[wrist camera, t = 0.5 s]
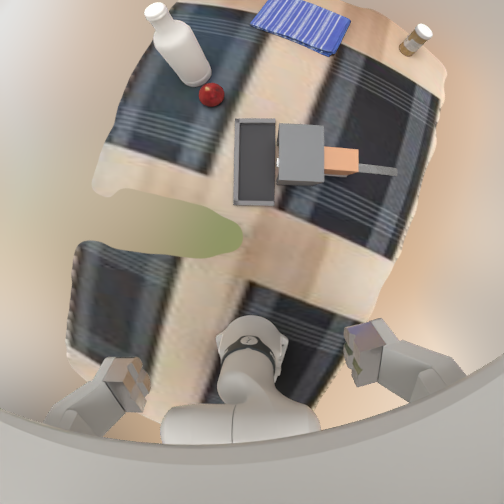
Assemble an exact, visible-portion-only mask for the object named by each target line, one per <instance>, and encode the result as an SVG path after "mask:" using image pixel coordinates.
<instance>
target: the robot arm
mask: <svg viewBox="0 0 504 504" xmlns="http://www.w3.org/2000/svg"><path fill="white" fill-rule="evenodd" d="M344 338H345V340H346V343H345V344H344V357H345V361H346V364H347V366H348V368H350V369H352V377H353V380H354V382H355V384H356V386H357V387H360V386H364V385H367V384H371V383H375V382H378V383H379V384H381V385H382V386H384V387H385V388H387V389H388V390H390V391H392V392H393V393H395V394H396V395H398V396H400V397H401V398H403V399H404V400H406V401H407V402H409V403H408V404H406V405H404V406H401V407H398V408H395V409H393V410H390V411H387V412H384V413H382V414H378V415H376V416H372V417H370V418H366V419H363V420H359V421H356V422H352V423H349V424H345V425H341V426H338V427H333V428H329V429H325V430H321V427H320V422H319V420H318V418H317V416H316V414H315V413H314V412H313V410H312V409H311V408H309V407H308V406H307V405H305V404H302V403H298V402H295V401H293V400H291V399H289V398H287V397H285V396H284V395H282V394H281V393H280V392H279V391H278V390H277V389H276V388H275V384H274V383H275V382H276V379H277V376H280V372H281V368H280V367H281V364H282V361H283V358H284V355H285V352H286V349H287V345H288V338H287V337H286V336H284V335H283V334H281V333H280V332H279V331H278V330H277V328H276V327H275V326H274V325H273V324H272V323H271V322H270V321H269V320H267V319H265V318H263V317H260V316H255V315H247V316H242V317H239V318H237V319H235V320H234V321H233V322H231V323H230V324H229V326H228V327H227V328H226V329H225V330H224V331H223V332H221V333H219V334H217V336H216V343H217V347H218V353H219V354H220V358H221V372H220V375H219V379H218V383H217V390H218V394H219V396H220V398H221V399H222V400H223V402H224V403H225V404H191V405H183V406H177V407H173V408H171V409H170V410H169V411H168V412H167V413H166V415H165V416H164V418H163V420H162V423H161V427H160V435H161V440H162V443H163V444H159V443H145V442H134V441H125V440H118V439H111V438H105V437H102V436H103V435H104V434H105V433H106V432H107V431H108V430H109V429H110V428H111V427H112V426H113V425H114V424H115V423H116V422H117V421H118V420H119V419H120V418H121V417H122V416H123V415H124V414H125V412H143V410H144V407H145V404H146V399H145V396H146V395H147V394H149V392H150V389H151V381H150V378H149V375H148V373H147V372H146V371H145V370H143V369H142V365H143V364H142V362H141V360H140V358H138V357H107V358H105V360H104V361H103V363H102V365H101V366H100V368H99V370H98V372H97V373H96V375H95V377H94V379H93V380H92V381H89V382H87V383H86V384H84V385H83V386H81V387H80V388H78V389H77V390H76V391H74V392H72V393H71V394H69V395H68V396H66V397H65V398H63V399H62V400H61V401H59V402H57V403H56V404H55V405H53V406H52V408H51V409H50V412H49V413H48V415H47V416H46V418H45V420H44V422H43V423H40V422H37V421H34V420H31V419H28V418H25V417H22V416H19V415H16V414H14V413H11V412H8V411H6V410H3V409H1V408H0V504H504V354H502V355H501V356H500V357H498V358H496V359H495V360H493V361H492V362H490V363H489V364H487V365H485V366H483V367H482V368H480V369H479V370H477V371H475V372H473V373H472V374H470V375H468V376H466V374H465V373H464V372H463V371H462V370H461V368H460V367H459V366H458V365H457V363H456V362H455V361H454V360H453V359H452V358H451V357H449V356H446V355H443V354H440V353H437V352H434V351H431V350H429V349H426V348H423V347H420V346H418V345H415V344H412V343H410V342H407V341H404V340H401V341H399V340H398V338H397V337H396V336H395V334H394V333H393V332H392V330H391V329H390V328H389V327H388V325H387V324H386V323H385V321H384V320H383V319H382V318H378V319H375V320H372V321H369V322H366V323H362V324H358V325H354V326H350V327H346V328H345V329H344ZM282 345H284V346H282Z"/></svg>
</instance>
